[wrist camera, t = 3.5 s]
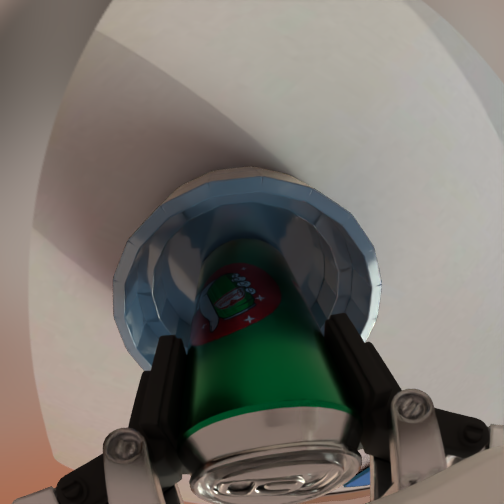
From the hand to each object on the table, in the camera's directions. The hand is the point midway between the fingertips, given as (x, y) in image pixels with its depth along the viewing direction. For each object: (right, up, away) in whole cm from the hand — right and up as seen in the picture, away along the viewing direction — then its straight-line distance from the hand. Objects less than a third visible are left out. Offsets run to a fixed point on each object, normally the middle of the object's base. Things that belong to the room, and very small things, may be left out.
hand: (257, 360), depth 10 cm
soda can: (-1, +3, +7) cm, 7 cm away
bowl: (-1, +3, +7) cm, 7 cm away
